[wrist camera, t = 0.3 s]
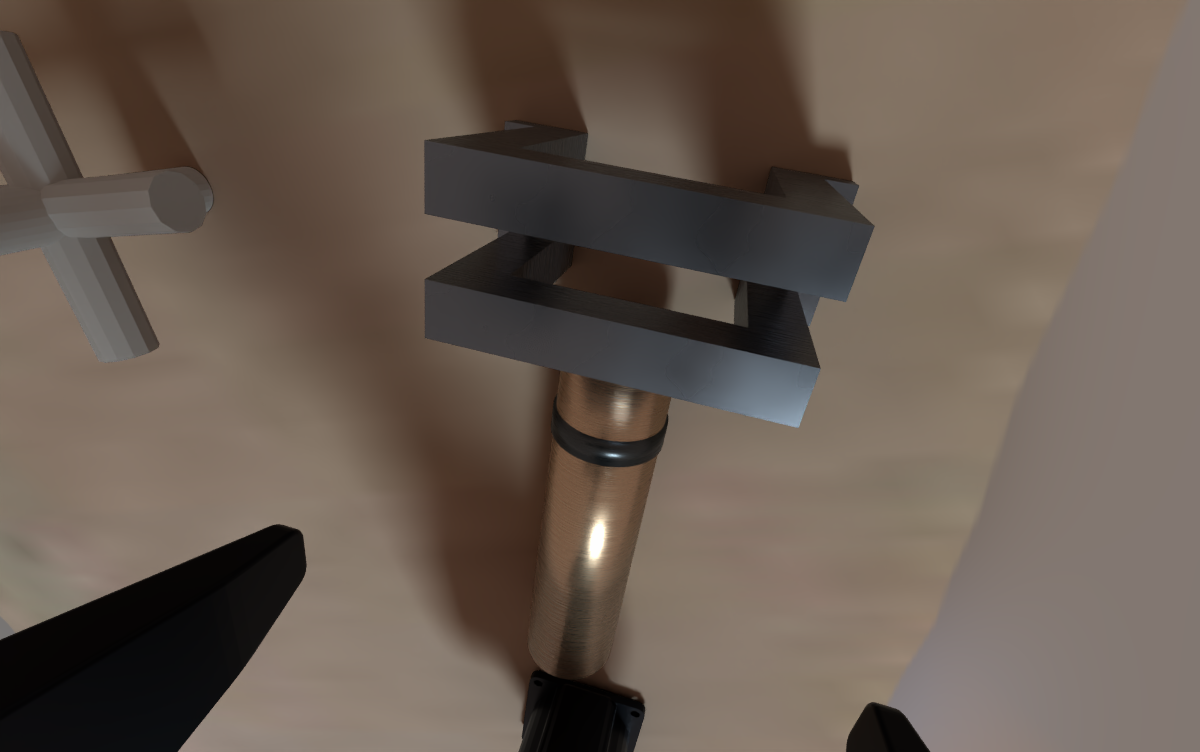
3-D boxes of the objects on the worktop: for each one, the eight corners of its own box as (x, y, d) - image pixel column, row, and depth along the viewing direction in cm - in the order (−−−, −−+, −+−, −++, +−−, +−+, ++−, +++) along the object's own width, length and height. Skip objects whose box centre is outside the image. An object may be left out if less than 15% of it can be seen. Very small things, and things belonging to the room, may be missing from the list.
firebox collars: (806, 315, 19) (844, 438, 12) (507, 251, 21) (387, 328, 14) (852, 181, 17) (930, 237, 10) (516, 120, 19) (380, 132, 12)
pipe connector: (39, 64, 22) (-438, 39, 13) (250, 30, 19) (-160, -29, 10) (150, 308, 26) (-152, 415, 17) (334, 306, 23) (92, 428, 15)
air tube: (625, 623, 27) (592, 698, 24) (550, 589, 29) (508, 655, 25) (699, 331, 20) (666, 377, 16) (592, 300, 21) (540, 337, 18)
